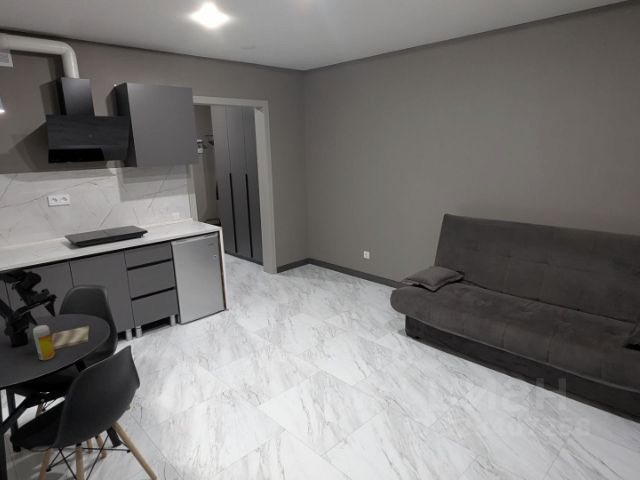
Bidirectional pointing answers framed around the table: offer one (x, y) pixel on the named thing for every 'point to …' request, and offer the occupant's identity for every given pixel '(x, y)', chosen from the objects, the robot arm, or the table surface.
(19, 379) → the table surface
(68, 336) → the birch board
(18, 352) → the table surface
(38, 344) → the beer can
